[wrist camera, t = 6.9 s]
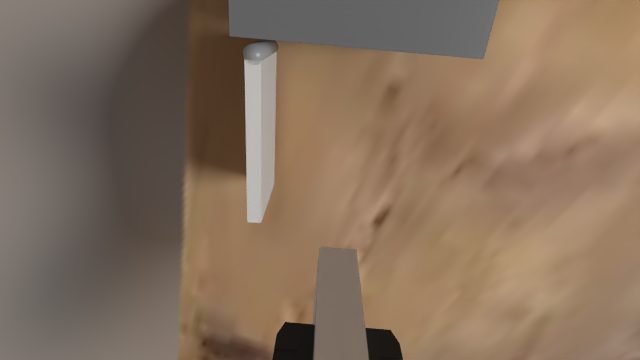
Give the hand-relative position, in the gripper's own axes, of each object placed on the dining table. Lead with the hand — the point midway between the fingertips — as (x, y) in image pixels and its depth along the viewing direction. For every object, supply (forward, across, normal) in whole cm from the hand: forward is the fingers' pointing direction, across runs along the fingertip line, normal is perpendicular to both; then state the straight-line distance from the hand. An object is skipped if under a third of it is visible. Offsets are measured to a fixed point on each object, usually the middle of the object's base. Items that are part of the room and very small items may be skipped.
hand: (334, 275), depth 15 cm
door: (+17, +6, -2) cm, 18 cm away
